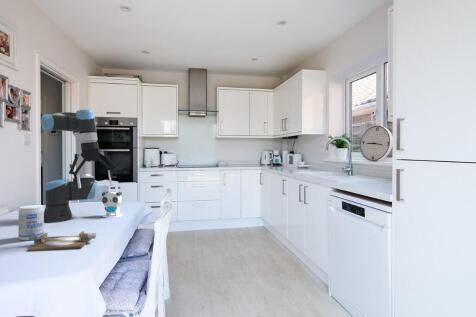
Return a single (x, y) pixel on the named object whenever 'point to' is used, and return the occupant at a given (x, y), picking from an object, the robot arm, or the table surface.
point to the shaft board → (60, 242)
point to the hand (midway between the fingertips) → (95, 185)
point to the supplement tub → (31, 221)
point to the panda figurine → (112, 204)
